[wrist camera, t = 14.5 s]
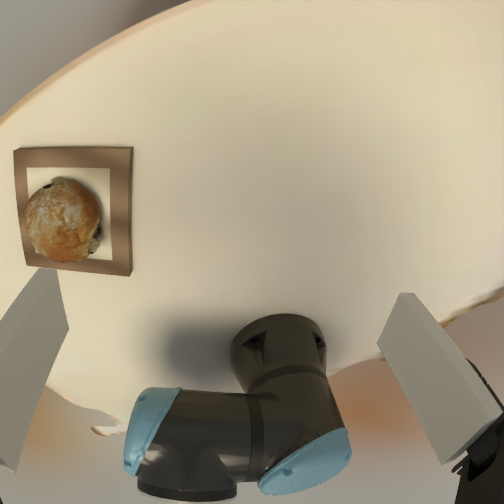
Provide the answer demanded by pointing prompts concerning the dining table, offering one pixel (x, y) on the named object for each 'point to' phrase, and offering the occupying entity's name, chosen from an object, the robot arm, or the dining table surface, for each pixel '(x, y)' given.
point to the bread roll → (63, 221)
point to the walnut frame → (99, 183)
